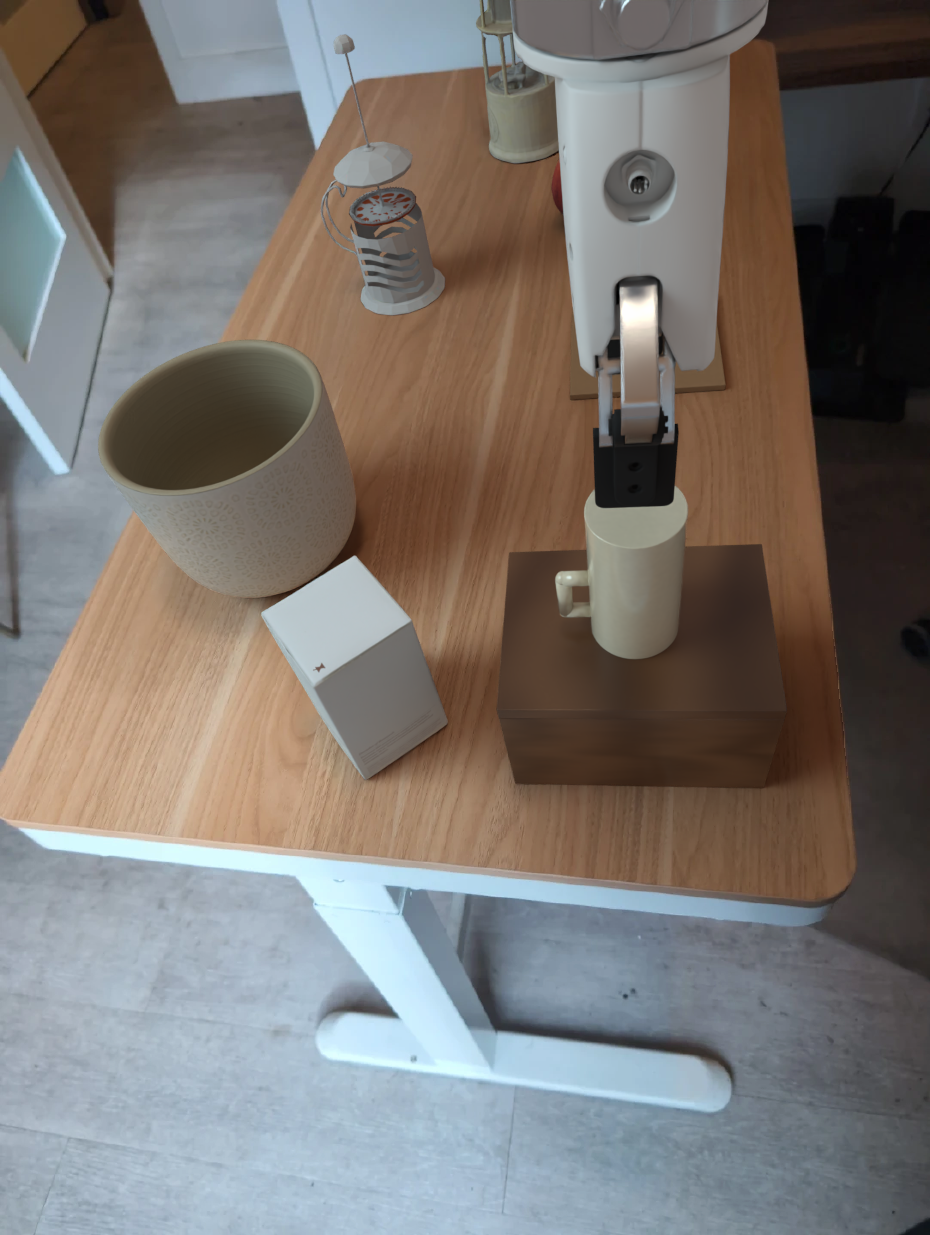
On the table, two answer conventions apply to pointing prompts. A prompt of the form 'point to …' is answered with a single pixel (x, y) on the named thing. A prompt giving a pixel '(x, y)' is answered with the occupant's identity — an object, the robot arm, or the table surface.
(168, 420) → the planter
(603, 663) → the brown lidded box
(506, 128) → the lamp
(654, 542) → the cream mug
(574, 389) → the mat
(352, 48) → the french press
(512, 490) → the table surface
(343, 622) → the white packaging box
